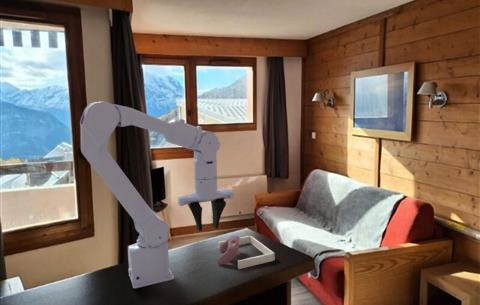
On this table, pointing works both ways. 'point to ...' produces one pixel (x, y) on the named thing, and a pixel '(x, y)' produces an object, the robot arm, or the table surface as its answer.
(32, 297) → the table surface
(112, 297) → the table surface
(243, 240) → the dock
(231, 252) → the video game controller
